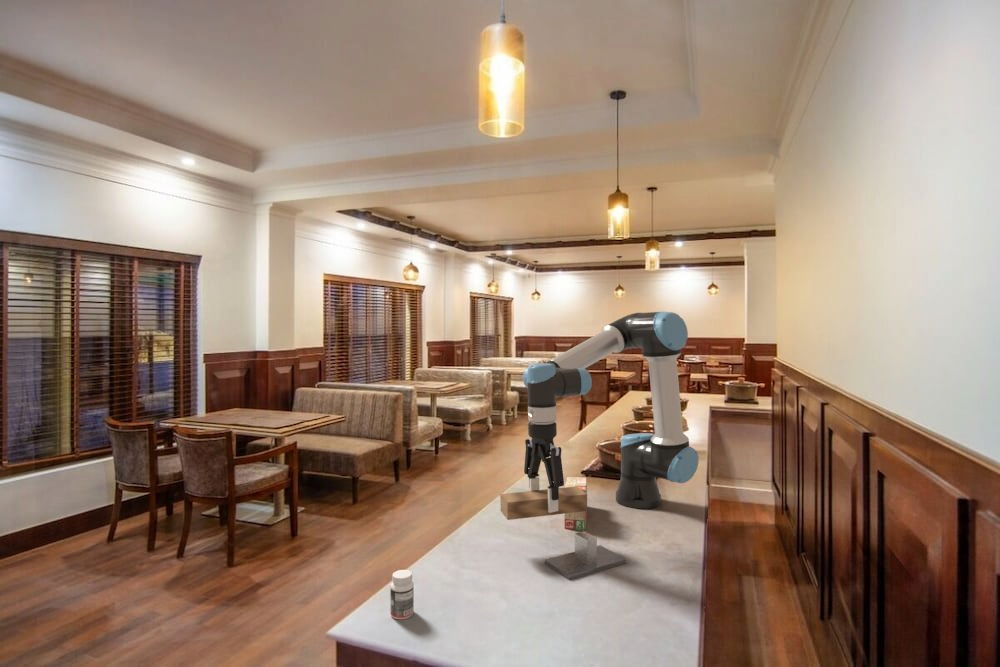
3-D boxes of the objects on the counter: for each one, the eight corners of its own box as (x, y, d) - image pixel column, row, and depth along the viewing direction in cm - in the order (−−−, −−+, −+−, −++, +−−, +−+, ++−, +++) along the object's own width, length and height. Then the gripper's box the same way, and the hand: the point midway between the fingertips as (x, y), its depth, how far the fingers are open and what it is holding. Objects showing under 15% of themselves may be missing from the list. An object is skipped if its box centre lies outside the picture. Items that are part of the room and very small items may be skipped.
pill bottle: (391, 608, 111) (391, 568, 111) (414, 607, 112) (414, 568, 112) (389, 620, 107) (389, 579, 107) (412, 619, 107) (412, 578, 107)
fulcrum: (600, 548, 142) (600, 522, 142) (626, 563, 133) (626, 535, 133) (544, 563, 133) (544, 535, 133) (568, 579, 124) (568, 550, 124)
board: (576, 502, 147) (576, 486, 147) (587, 510, 140) (587, 494, 140) (500, 510, 142) (500, 494, 142) (507, 520, 135) (507, 502, 135)
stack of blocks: (568, 505, 177) (568, 468, 177) (587, 506, 176) (587, 469, 176) (564, 529, 156) (564, 487, 156) (585, 530, 155) (585, 488, 155)
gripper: (510, 417, 148) (511, 498, 148) (553, 429, 130) (555, 521, 130) (532, 414, 152) (534, 493, 152) (577, 426, 133) (579, 515, 134)
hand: (543, 506), depth 141 cm, fingers closed on board, 8 cm apart
